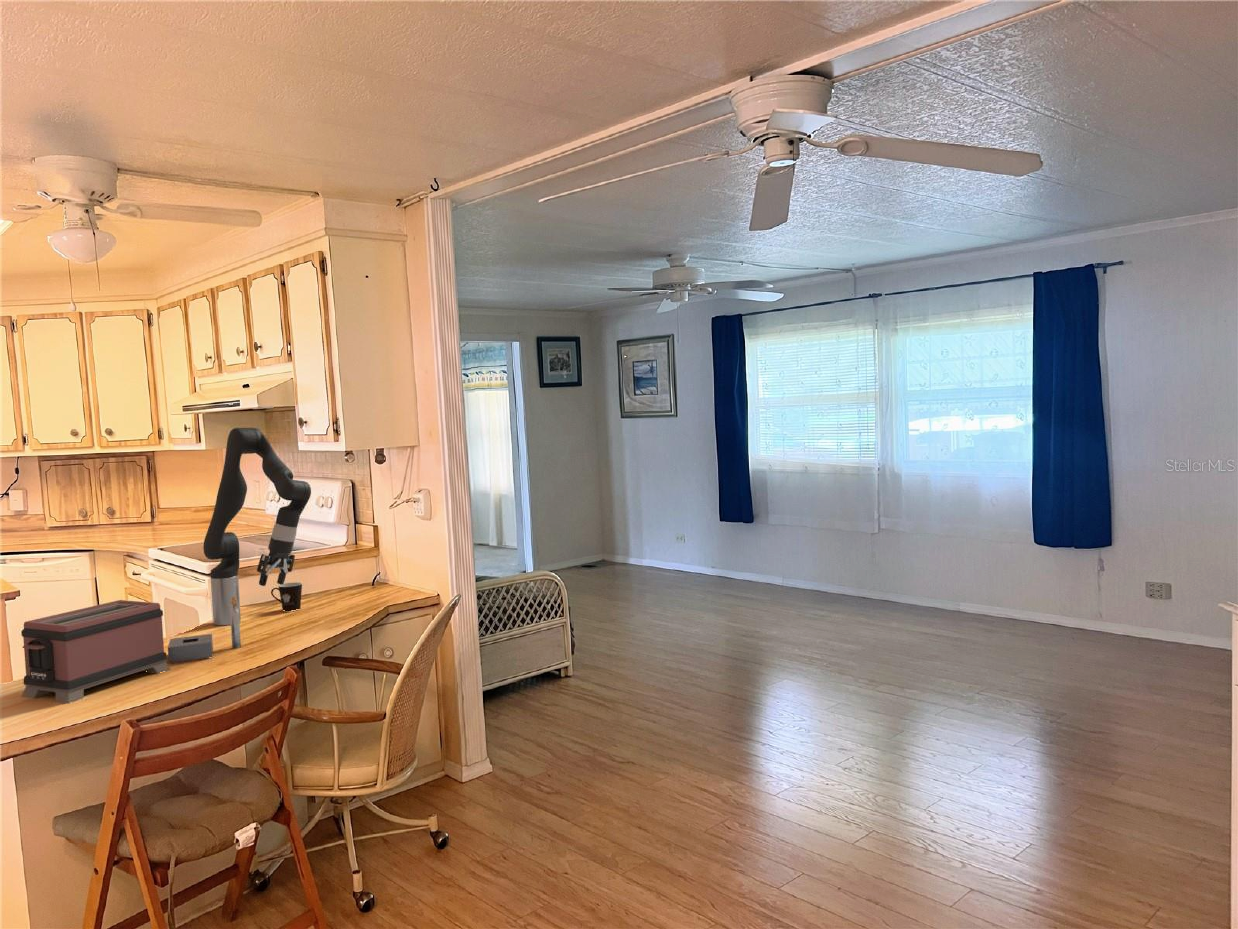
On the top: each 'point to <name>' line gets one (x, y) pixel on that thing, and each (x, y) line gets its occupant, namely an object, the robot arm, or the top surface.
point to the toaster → (91, 648)
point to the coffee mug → (290, 595)
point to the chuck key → (235, 623)
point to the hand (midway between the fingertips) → (271, 584)
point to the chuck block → (190, 648)
